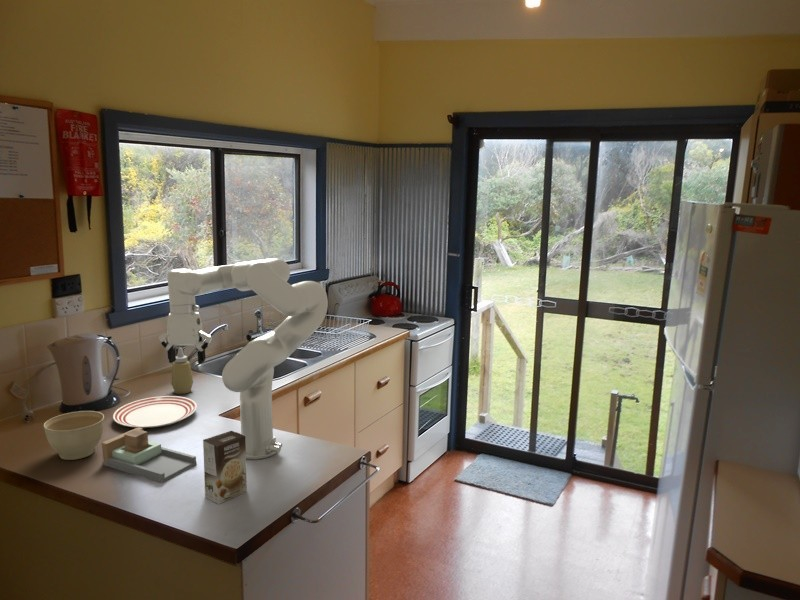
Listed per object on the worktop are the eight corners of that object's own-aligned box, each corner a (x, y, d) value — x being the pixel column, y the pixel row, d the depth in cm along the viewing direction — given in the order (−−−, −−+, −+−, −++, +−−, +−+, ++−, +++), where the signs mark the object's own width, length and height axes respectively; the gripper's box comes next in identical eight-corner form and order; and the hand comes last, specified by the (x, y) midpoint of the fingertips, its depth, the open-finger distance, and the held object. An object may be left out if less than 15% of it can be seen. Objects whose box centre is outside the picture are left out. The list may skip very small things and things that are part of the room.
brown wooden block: (138, 450, 185) (136, 429, 184) (149, 453, 183) (147, 431, 182) (125, 456, 181) (124, 434, 180) (136, 459, 179) (135, 437, 178)
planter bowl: (118, 447, 192) (116, 414, 190) (75, 469, 177) (72, 434, 175) (79, 439, 197) (76, 407, 195) (34, 460, 182) (30, 426, 180)
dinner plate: (180, 434, 202) (179, 425, 202) (98, 433, 203) (97, 423, 202) (208, 405, 229) (207, 396, 229) (135, 403, 230) (134, 395, 229)
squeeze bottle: (172, 389, 245) (169, 345, 241) (193, 387, 247) (191, 344, 244) (171, 396, 237) (168, 351, 234) (193, 394, 240) (190, 349, 236)
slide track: (196, 464, 181) (195, 441, 180) (161, 483, 169) (160, 459, 168) (138, 447, 191) (137, 426, 190) (102, 464, 180) (100, 442, 179)
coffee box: (218, 505, 158) (216, 446, 155) (204, 497, 162) (201, 440, 159) (248, 491, 165) (245, 435, 162) (233, 484, 169) (231, 429, 166)
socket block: (161, 453, 185) (161, 444, 184) (134, 467, 176) (133, 457, 175) (140, 447, 189) (139, 438, 188) (112, 460, 180) (111, 450, 179)
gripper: (214, 307, 193) (218, 359, 196) (162, 306, 195) (167, 358, 198) (204, 311, 185) (207, 366, 188) (150, 310, 188) (155, 364, 191)
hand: (187, 362), depth 193 cm, fingers open, 9 cm apart
